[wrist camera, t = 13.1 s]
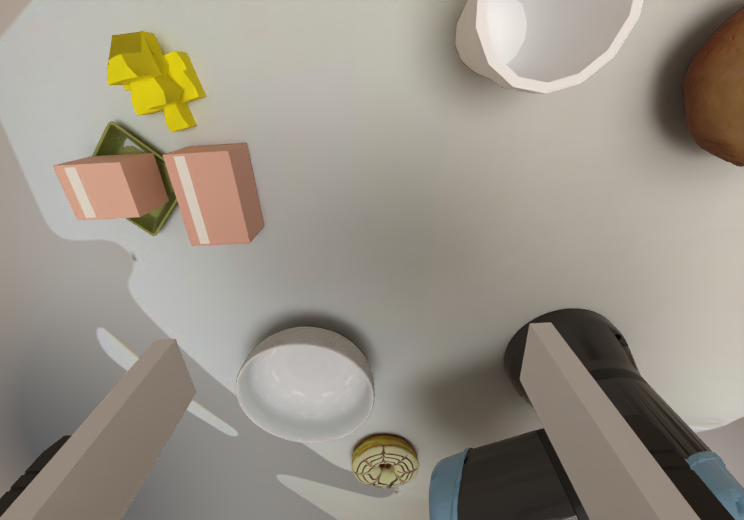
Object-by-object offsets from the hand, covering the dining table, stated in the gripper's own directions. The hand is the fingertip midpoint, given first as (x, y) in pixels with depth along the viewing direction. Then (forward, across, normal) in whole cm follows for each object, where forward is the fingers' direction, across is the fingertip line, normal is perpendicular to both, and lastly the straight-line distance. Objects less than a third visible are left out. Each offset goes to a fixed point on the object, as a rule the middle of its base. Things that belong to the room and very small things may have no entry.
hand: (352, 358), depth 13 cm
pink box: (+25, +24, -2) cm, 35 cm away
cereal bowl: (+27, +9, +24) cm, 37 cm away
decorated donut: (+27, 0, +45) cm, 53 cm away
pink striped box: (+27, +15, 0) cm, 31 cm away
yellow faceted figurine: (+27, +18, -11) cm, 34 cm away
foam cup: (+27, -12, -13) cm, 32 cm away
